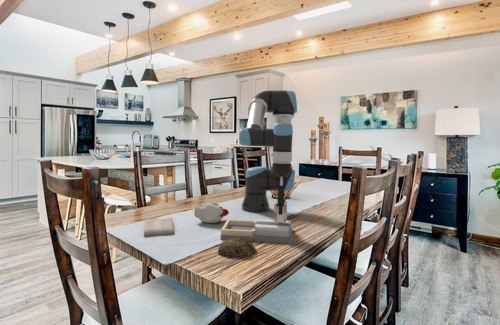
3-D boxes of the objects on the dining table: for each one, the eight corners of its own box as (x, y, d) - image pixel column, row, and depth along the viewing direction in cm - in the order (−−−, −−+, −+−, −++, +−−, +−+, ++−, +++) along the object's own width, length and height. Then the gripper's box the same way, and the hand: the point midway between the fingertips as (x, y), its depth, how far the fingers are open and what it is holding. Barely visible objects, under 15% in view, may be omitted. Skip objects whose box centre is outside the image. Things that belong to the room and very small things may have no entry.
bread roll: (213, 255, 96) (213, 240, 96) (228, 242, 108) (229, 229, 107) (248, 261, 92) (248, 246, 91) (261, 248, 103) (261, 234, 103)
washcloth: (172, 222, 133) (172, 215, 132) (174, 235, 116) (174, 227, 115) (145, 224, 129) (144, 217, 129) (143, 237, 112) (143, 230, 112)
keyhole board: (220, 239, 111) (220, 226, 110) (228, 226, 126) (228, 215, 126) (293, 243, 107) (294, 231, 107) (292, 230, 123) (292, 219, 123)
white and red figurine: (192, 221, 132) (217, 219, 142) (206, 226, 124) (232, 224, 134) (194, 201, 132) (219, 201, 142) (209, 205, 124) (234, 205, 134)
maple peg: (272, 233, 113) (272, 204, 112) (272, 228, 119) (273, 201, 118) (287, 234, 113) (288, 205, 112) (287, 229, 119) (288, 201, 117)
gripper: (273, 160, 123) (271, 213, 125) (271, 164, 105) (269, 226, 107) (290, 160, 122) (289, 214, 124) (292, 164, 104) (290, 227, 106)
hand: (280, 219), depth 115 cm, fingers closed on maple peg, 5 cm apart
